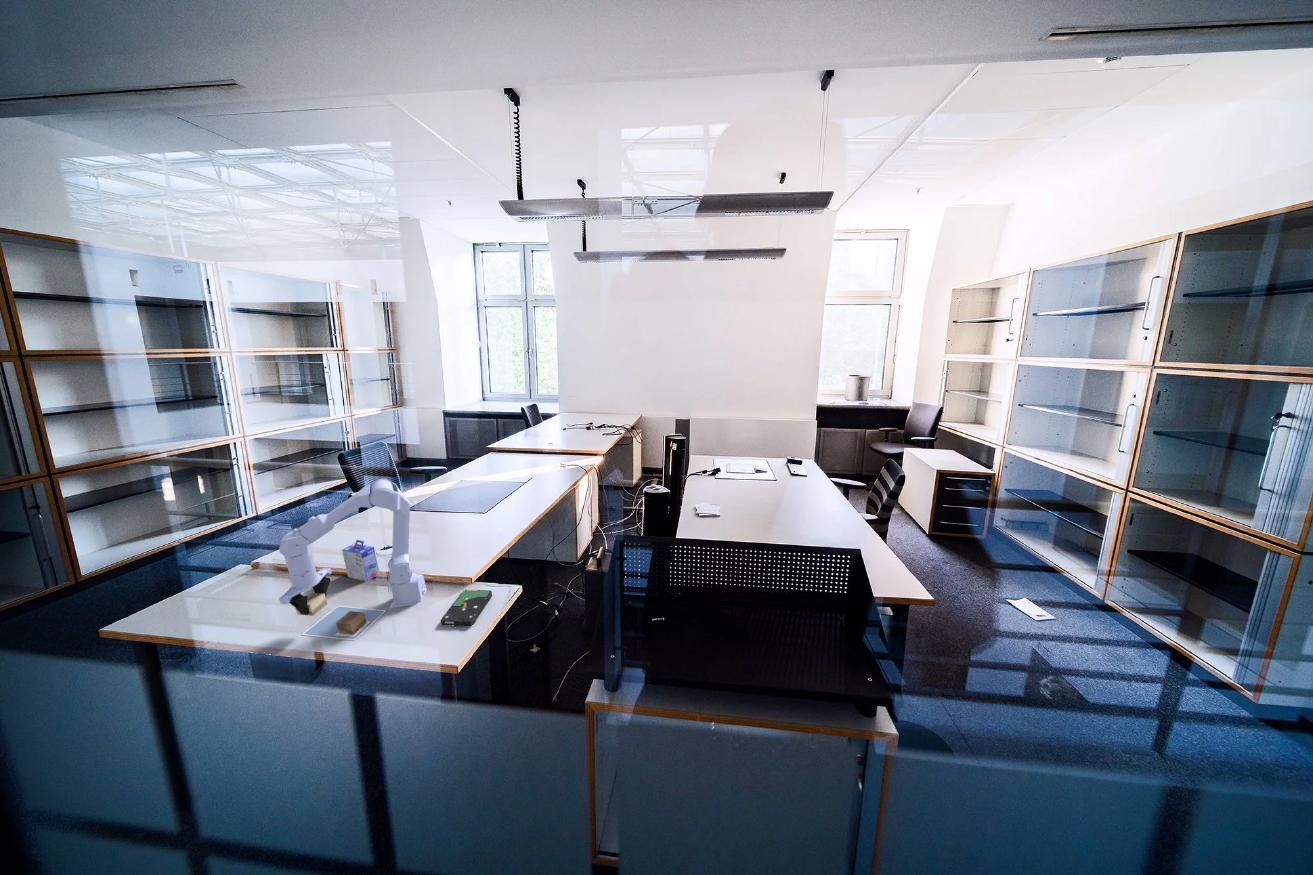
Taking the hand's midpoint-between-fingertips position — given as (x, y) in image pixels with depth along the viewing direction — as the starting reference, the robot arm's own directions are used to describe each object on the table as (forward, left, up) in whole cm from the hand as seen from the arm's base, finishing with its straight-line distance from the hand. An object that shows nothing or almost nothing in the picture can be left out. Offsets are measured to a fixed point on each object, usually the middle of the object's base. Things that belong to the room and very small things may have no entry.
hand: (313, 607), depth 122 cm
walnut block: (-10, +3, -8) cm, 13 cm away
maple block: (+1, 0, -1) cm, 1 cm away
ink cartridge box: (-2, -27, -9) cm, 28 cm away
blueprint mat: (-7, -1, -8) cm, 11 cm away
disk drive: (-43, +1, -9) cm, 44 cm away
